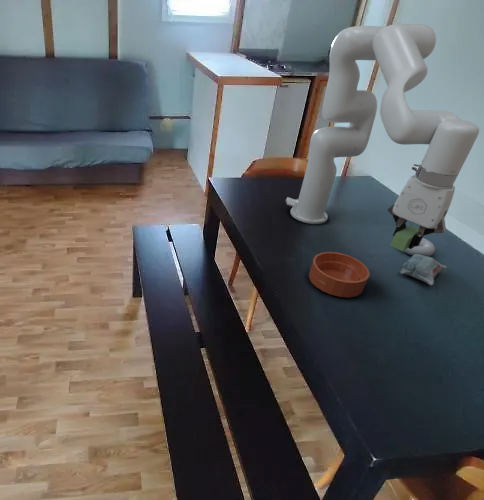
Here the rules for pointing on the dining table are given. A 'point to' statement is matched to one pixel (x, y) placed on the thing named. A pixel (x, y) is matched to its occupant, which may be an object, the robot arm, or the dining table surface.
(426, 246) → the donut
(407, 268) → the packaged food
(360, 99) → the robot arm
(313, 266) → the bowl
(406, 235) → the bar
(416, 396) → the dining table surface
